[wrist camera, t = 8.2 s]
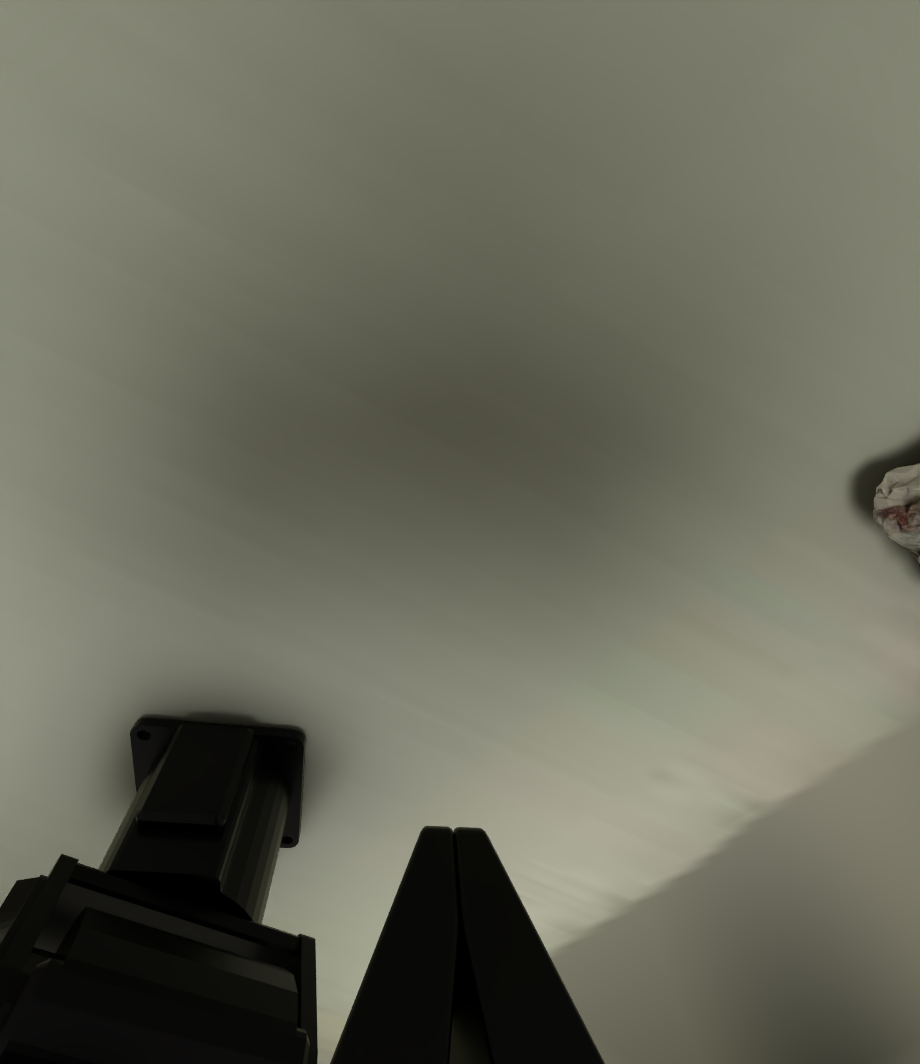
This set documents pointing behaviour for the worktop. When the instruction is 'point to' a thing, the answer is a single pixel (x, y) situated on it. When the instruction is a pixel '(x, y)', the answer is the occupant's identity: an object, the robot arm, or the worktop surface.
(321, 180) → the worktop surface
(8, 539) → the worktop surface
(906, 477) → the mineral rock
